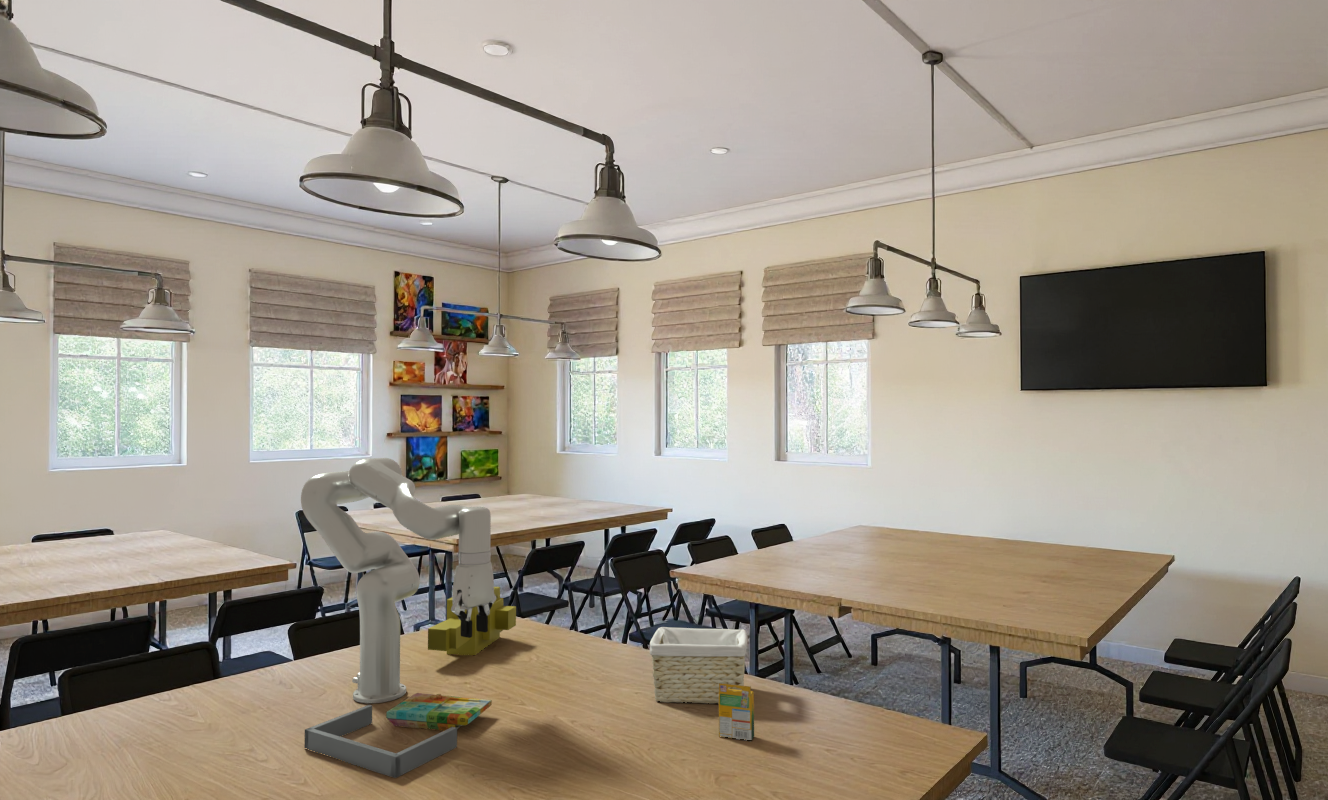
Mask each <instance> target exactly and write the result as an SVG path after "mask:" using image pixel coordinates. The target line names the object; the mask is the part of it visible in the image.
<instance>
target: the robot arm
mask: <svg viewBox="0 0 1328 800" xmlns="http://www.w3.org/2000/svg"><path fill="white" fill-rule="evenodd" d="M415 485H416V484H415V482H414V481H413V480H411V479H409V478H407V477H406V476H404V475H403V471H402V468H401V466H400V464H399V463H398V462H396V461H395V460H394V459H392V458H388V457H376V458H365V459H360V460H358V461H356V462H355V463H353V465H351V467H350V469H348V470H344V471H331V472H324V473H319V474H316V475H314V476H312V477H311V478H309V479H308V480H306V482H305V483H304V485H303V486H302V489H301V495H300V505H301V509H302V512H303V514H304V516H305V518H306V519H307V521H308V522H309V523H310V525H311V526H312V527H313V528H314V530H316V531H317V532H318V534H319V535H320V537H321V538H322V539H323V540H324V542H325V544H326V545H327V546H328V548H329V549H330V551H331V552H332V553H333V555H334V556H335V558H336V559H337V561H338V562H339V563H340V564H341V566H342V567H343V568H344V569H345V570H346V571H347V572H349V573H351V574H358V573H364V572H366V573H365V574H363V575H362V576H361V578H360V579H359V580H358V582H357V585H356V601H357V604H358V610H359V672H358V673H357V674H356V676H354V677H353V678H352V679H351V680H352V683H353V684H357V688H356V689H355V690H354V691H353V693H352V699H353V700H354V701H355V702H358V703H362V704H380V703H381V704H382V703H386V702H387V703H388V702H391V701H394V700H398V699H399V698H401V697H403V696H404V695H405V694H407V693H406V692H407V686H406V685H405V684H403V683H401V618H400V613H399V612H398V610H397V607H396V603H398V602H401V601H403V600H405V599H408V598H410V597H412V596H414V594H415V593H417V592H418V590H419V588H420V583H421V579H420V575H419V571H418V570H417V567H416V566H415V565H414V563H413V562H412V560H411V559H410V558H409V557H408V555H407V554H406V552H405V551H404V550H403V548H402V547H401V546H400V544H399V543H398V541H397V540H396V539H395V538H394V537H393V536H391V535H390V534H389V533H387V532H384V531H377V530H376V531H372V532H371V531H370V532H366V531H363V530H362V529H361V527H360V526H359V525H358V524H357V522H356V521H355V519H354V518H353V517H352V516H351V515H350V514H349V513H348V512H346V511H345V510H343V509H341V508H340V507H339V506H338V505H341V504H348V503H355V502H359V501H363V500H365V499H368V498H371V499H373V500H374V501H376V502H378V503H380V505H381V504H382V505H383V506H384V507H387V508H388V509H390V510H391V511H392V513H393V516H394V517H395V519H396V520H397V521H398V523H399V524H400V525H402V526H403V527H404V528H406V529H407V530H409V531H410V532H412V533H414V534H416V535H417V536H420V537H422V538H424V539H426V540H431V541H432V540H433V541H434V540H441V539H444V538H447V537H452V536H457V535H458V565H456V566H455V570H454V576H453V584H452V596H451V598H452V603H453V606H452V608H451V611H452V612H453V613H455V614H456V615H457V616H458V617H459V620H461V636H462V637H468V638H470V637H472V620H470V618H471V613H472V608H473V607H476V606H477V608H478V613H479V614H477V616H476V630H477V631H480V632H487V631H488V616H487V615H489V614H490V609H491V607H492V604H493V603H494V602H495V600H496V596H495V594H494V587H495V582H494V571H493V565H492V562H491V556H492V551H491V539H492V537H491V535H492V534H491V529H492V528H491V527H492V526H491V523H492V521H491V519H492V516H491V515H492V514H491V511H490V509H489V508H488V507H484V506H469V507H468V506H463V505H459V504H449V505H443V506H442V505H441V506H437V507H431V506H429V505H427V504H425V503H423V502H422V501H420V500H419V499H417V498H416V497H414V496H415V492H416V486H415ZM367 571H368V572H367ZM415 595H416V594H415ZM482 606H483V607H482ZM465 610H467V612H466V613H465Z"/></svg>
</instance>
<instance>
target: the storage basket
mask: <svg viewBox="0 0 1328 800" xmlns="http://www.w3.org/2000/svg"><path fill="white" fill-rule="evenodd" d="M748 638H749V637H748V633H747V630H746V629H743V628H742V629H731V628H730V629H728V628H695V627H694V628H692V627H690V628H689V627H688V628H687V627H667V626H661V627H658V628H657V629H656V631H655V632H654V634H653V636H652V638H651V639H650V642H649V654H650V655H651V657H652V658H651V659H652V660H651V661H652V670H653V671H652V677H653V686H654V699H655V701H656V702H658V701H660V702H661V703H683V702H685V703H684V704H688V703H687V702H692V703H691V704H693V703H694V704H698V703H699V704H708V703H709V704H710V705H711V704H718V705H719V683H723V684H732V685H742V686H745V679H744V678H745V663H746V659H745V658H746V656H747V648H748ZM728 689H735V690H742V689H740V688H736V687H728ZM709 704H708V705H709Z"/></svg>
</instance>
